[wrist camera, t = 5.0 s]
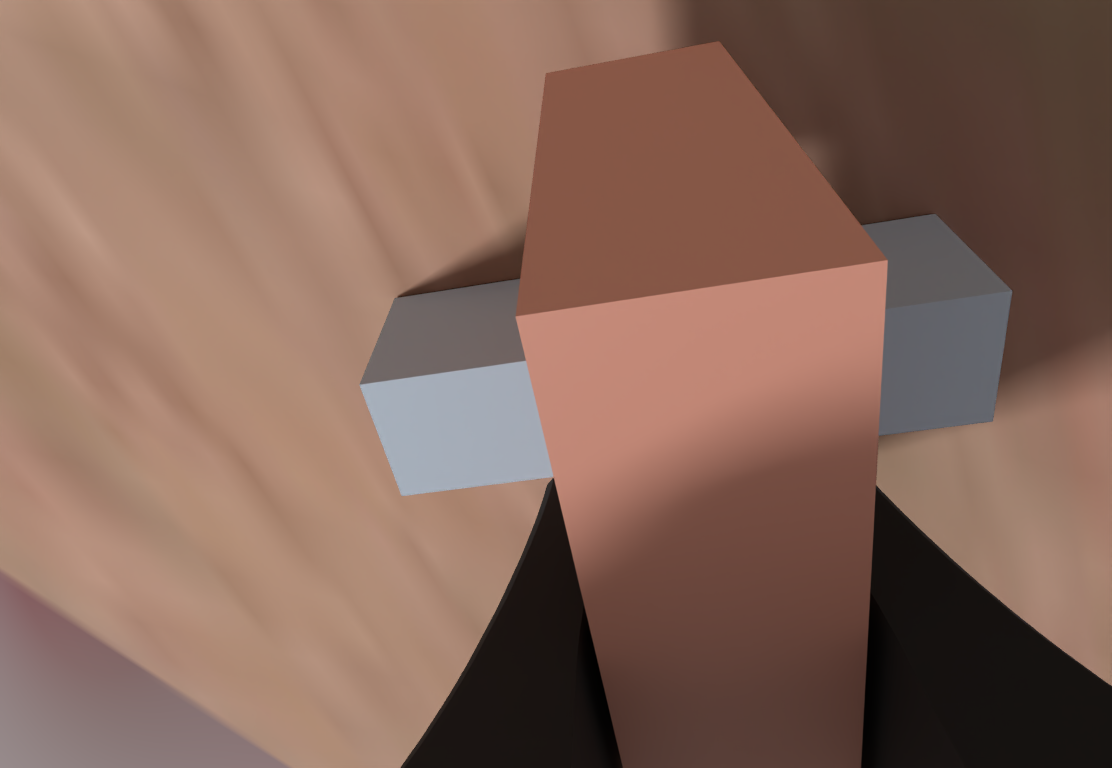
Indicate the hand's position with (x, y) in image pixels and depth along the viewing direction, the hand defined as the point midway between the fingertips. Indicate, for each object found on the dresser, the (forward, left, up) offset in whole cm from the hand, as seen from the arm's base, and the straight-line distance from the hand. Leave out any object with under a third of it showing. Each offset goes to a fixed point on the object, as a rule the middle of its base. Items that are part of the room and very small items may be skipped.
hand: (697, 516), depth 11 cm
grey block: (0, 0, -6) cm, 6 cm away
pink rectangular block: (0, 0, -4) cm, 4 cm away
